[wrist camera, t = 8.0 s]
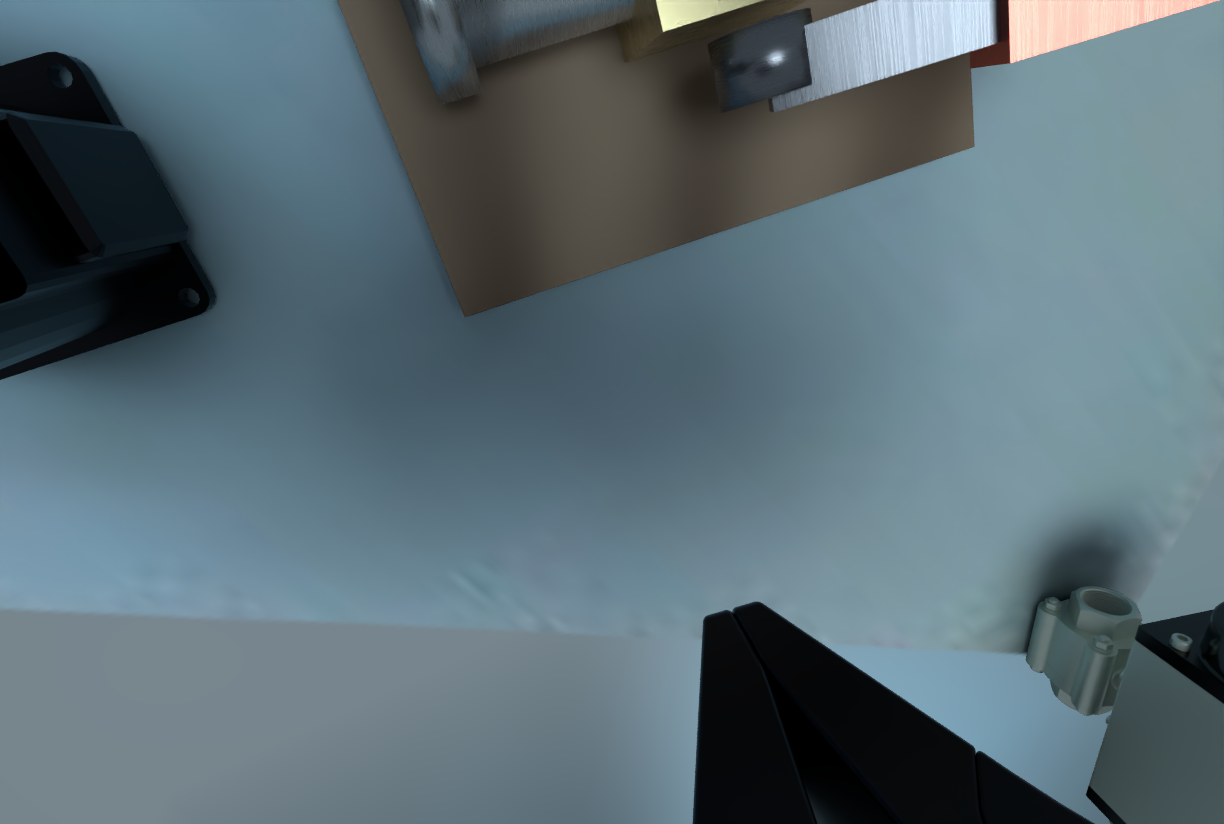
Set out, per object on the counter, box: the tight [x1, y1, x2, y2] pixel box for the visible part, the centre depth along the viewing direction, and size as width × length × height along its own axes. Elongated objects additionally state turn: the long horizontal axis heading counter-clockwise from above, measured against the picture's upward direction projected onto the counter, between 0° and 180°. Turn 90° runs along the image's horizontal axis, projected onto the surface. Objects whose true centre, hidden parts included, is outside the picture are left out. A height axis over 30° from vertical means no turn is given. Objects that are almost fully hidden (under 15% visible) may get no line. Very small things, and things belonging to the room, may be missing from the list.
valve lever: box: [707, 0, 1218, 113], centre depth 12 cm, size 2×2×11 cm
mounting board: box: [338, 0, 974, 317], centre depth 16 cm, size 16×11×1 cm
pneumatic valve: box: [1026, 586, 1224, 824], centre depth 23 cm, size 6×12×12 cm, turn 4°
